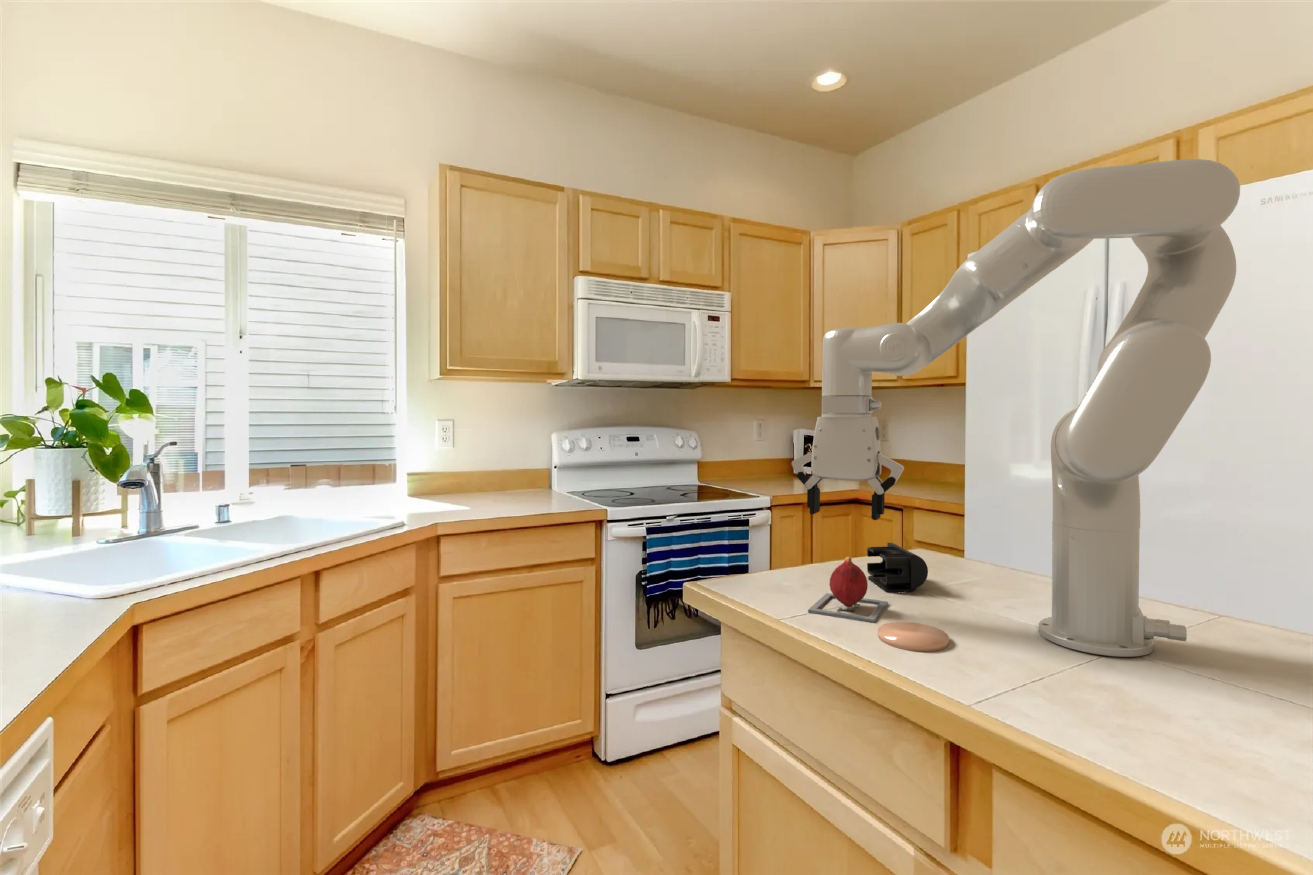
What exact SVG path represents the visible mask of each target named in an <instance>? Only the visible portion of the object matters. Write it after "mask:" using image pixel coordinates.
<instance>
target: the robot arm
mask: <svg viewBox="0 0 1313 875" xmlns="http://www.w3.org/2000/svg"><path fill="white" fill-rule="evenodd" d="M1240 196H1241V185H1240V182H1239V178H1238V176H1237V175H1236V173H1235V172H1234V171H1233V170H1232V169H1231V168H1230V167H1228V166H1226V165H1225V164H1222V163H1220V162H1217V161H1214V160H1211V159H1209V160H1208V159H1201V158H1188V159H1173V160H1165V161H1155V162H1154V161H1153V162H1145V163H1143V162H1142V163H1134V164H1122V165H1111V166H1101V167H1094V168H1093V167H1092V168H1091V167H1090V168H1083V169H1077V170H1074V171H1073V170H1072V171H1069V172H1066V173H1062V174H1061V175H1058V176H1055V177H1054V178H1053V179H1051V180H1049V181H1047V182H1046V183H1045V184H1044V185H1043V186H1042V187H1041V188H1040V189H1039V191H1038V192H1037V194H1036V195H1035V197H1034V199H1033V202H1032V205H1031V208H1030V209H1029V210H1028V211H1026V212H1024V214H1022V215H1021V216H1020V217H1018V218H1017V219H1016V220H1015V221H1013V222H1012V223H1011V224H1010V225H1009V226H1008V227H1006V228H1005V229H1004V230H1002V231H1001V232H1000V233H998V234H997V235H996V236H995V237H994V238H992V239H991V240H990V241H989V242H987V243H986V244H984V245H983V246H982V247H981V248H979V249H978V250H977V251H976V252H975V253H973V254H971V256H970V257H968V258H967V259H966V260H965V261H964V262H962V263H961V265H960V266H959V267H958V268H957V269H956V271H955V272H954V273H953V275H952V277H951V278H950V279H949V281H948V283H947V284H946V286H945V287H944V289H943V290H942V291H941V292H940V293H939V294H938V295H937V296H936V298H935V299H933V300H932V301H931V302H930V303H929V304H928V305H927V306H926V307H925V308H924V309H922V310H921V311H920V312H919V313H917V314H916V315H915V316H913V317H912V318H911V319H910V320H909V321H907V322H906V323H904V322H892V323H886V324H881V325H877V326H871V327H864V328H862V327H861V328H860V327H844V328H843V327H841V328H835V329H830V330H828V331H826V332H825V334H824V335H823V337H822V356H821V357H822V358H821V359H822V360H821V362H822V363H821V364H822V365H821V367H822V368H821V371H822V372H821V416H817V418H816V422H815V428H814V433H813V441H812V447H811V448H812V450H811V451H810V452H808V453H806V454H803V455H802V456H800V457H797V458H796V459H794V460H792V461H791V467H792V469H793V470H794V472H795V474H796V478H797V479H798V480H799V482H800V483H802V485H804V488H805V489H806V493H807V494H806V502H807V503H806V507H807V508H808V509H809V515H816V514H817V513H819V512H820V510H821V489H820V487H819V484H820V483H821V481H822V480H823V479H824V480H825V479H826V480H834V481H835V480H838V481H852V482H853V481H855V482H867V483H868V485H869V486H870V487H871V488H872V490H873V494H871V520H873V521H877V520H879V519H880V518H881V516H882V515H884V513H885V494H886V492H887V491H888V490H890V489H891V488H892V487H893V486H894V485H896V484H897V483H898V480H899V479H900V477H901V475H902V473H903V471H904V470H905V466H904V465H902V464H901V463H898V462H897V461H895V460H893V459H891V458H890V457H888V456H886V455H884V454H883V453H882V448H881V447H882V446H881V434H880V426H879V421H878V418H877V416H872V414H873V412H874V411H876V410H881V409H882V401H881V400H877V399H874V397H873V396H872V391H873V390H872V389H873V386H872V385H873V373H882V374H883V373H884V374H890V375H894V376H898V377H907V376H911V375H914V374H916V373H919V372H920V371H921V370H923V369H924V368H926V367H927V366H928V365H930V364H931V363H933V362H934V361H935V360H938V358H939V357H941V356H942V355H944V354H945V353H946V352H948V351H949V350H950V349H952V348H953V347H955V345H957V344H959V343H960V342H961V341H962V340H963V339H965V338H966V337H967V336H968V335H969V334H971V333H972V332H974V331H975V330H976V329H977V328H979V327H981V326H982V325H983V324H984V323H986V322H987V321H989V320H990V319H992V318H993V317H995V315H997V314H998V313H999V312H1000V311H1001V310H1003V309H1004V308H1006V307H1007V306H1008V305H1010V303H1012V302H1013V301H1015V300H1016V299H1017V298H1018V297H1020V296H1021V295H1022V294H1024V293H1025V292H1026V291H1027V290H1029V289H1030V288H1031V287H1033V286H1034V285H1036V284H1037V283H1039V282H1040V281H1041V280H1042V279H1044V278H1045V277H1047V276H1048V275H1049V274H1050V273H1052V272H1053V271H1055V270H1056V269H1058V268H1059V267H1060V266H1061V265H1063V264H1064V263H1066V262H1067V261H1068V260H1070V259H1071V258H1072V257H1074V256H1075V255H1077V254H1078V253H1079V252H1080V251H1082V250H1083V249H1084V248H1086V247H1087V246H1088V245H1089V244H1091V242H1092V241H1093V240H1094V239H1095V240H1097V239H1125V238H1126V239H1128V238H1130V239H1131V240H1132V242H1133V244H1134V245H1135V246H1136V247H1137V248H1138V249H1139V251H1140V252H1141V253H1142V254H1143V256H1144V258H1145V261H1146V263H1147V275H1146V277H1145V280H1144V283H1143V285H1142V287H1141V288H1140V290H1139V292H1138V294H1137V296H1136V298H1135V300H1134V302H1133V304H1132V305H1131V307H1130V309H1129V310H1128V312H1127V314H1126V316H1125V317H1124V318H1123V320H1122V322H1121V324H1120V325H1119V326H1118V329H1117V331H1116V332H1115V333H1114V335H1113V336H1112V338H1111V339H1110V341H1109V342H1108V343H1107V345H1106V346H1105V347H1104V349H1103V350H1102V352H1101V353H1100V356H1099V359H1098V361H1097V362H1098V363H1097V374H1096V375H1095V377H1094V379H1093V380H1092V382H1091V384H1090V385H1089V388H1088V389H1087V391H1086V393H1085V394H1084V396H1083V397H1082V399H1081V401H1080V403H1079V404H1078V405H1077V407H1076V408H1075V409H1072V410H1070V411H1069V412H1067V413H1066V414H1064V415H1063V416H1062V417H1060V419H1059V420H1058V422H1057V423H1056V425H1055V426H1054V429H1053V431H1052V435H1051V440H1050V441H1051V442H1050V459H1051V460H1050V463H1051V480H1052V481H1051V482H1052V520H1051V521H1052V522H1051V524H1052V526H1051V528H1052V532H1051V533H1052V535H1051V536H1052V537H1051V540H1052V541H1051V548H1052V549H1051V616H1049V617H1046V618H1043V619H1040V620H1039V622H1038V632H1039V634H1040V635H1041V636H1042V637H1043V638H1045V639H1046V640H1048V641H1050V642H1051V643H1052V642H1053V643H1055V644H1056V645H1059V646H1061V647H1064V648H1068V649H1072V650H1073V651H1074V650H1075V651H1078V652H1083V653H1088V654H1092V655H1100V656H1106V657H1107V656H1108V657H1116V658H1117V657H1119V658H1121V657H1122V658H1127V657H1128V658H1133V657H1141V656H1146V655H1150V654H1151V653H1152V652H1153V651H1154V648H1155V647H1154V646H1155V642H1154V638H1155V637H1159V638H1162V639H1163V638H1165V639H1168V640H1172V641H1179V642H1187V638H1188V636H1187V634H1188V633H1187V631H1188V630H1187V627H1186V625H1184V624H1183V625H1181V624H1174V623H1170V620H1167V619H1160V618H1159V619H1158V618H1149V617H1147V615H1144V614H1143V612H1142V610H1141V608H1140V604H1139V602H1140V601H1139V598H1140V591H1139V590H1140V531H1141V494H1140V493H1141V492H1140V491H1141V490H1140V479H1139V478H1140V477H1139V475H1140V474H1141V473H1143V472H1144V471H1146V470H1147V469H1148V468H1149V467H1150V466H1151V465H1152V463H1153V462H1154V461H1155V460H1156V459H1157V457H1158V456H1159V454H1160V453H1161V452H1162V450H1163V448H1164V447H1165V446H1166V444H1167V442H1168V441H1169V439H1170V438H1171V436H1172V435H1173V433H1174V432H1175V430H1176V428H1177V427H1178V425H1179V424H1180V422H1181V421H1182V419H1183V417H1184V416H1185V415H1186V413H1187V411H1188V410H1189V408H1190V407H1191V406H1192V403H1193V402H1194V401H1195V399H1196V397H1197V395H1198V394H1199V392H1200V391H1201V389H1202V387H1203V385H1204V383H1205V381H1206V380H1207V377H1208V374H1209V373H1210V372H1209V371H1210V368H1211V362H1212V354H1211V349H1210V345H1209V343H1208V342H1207V339H1206V337H1207V336H1208V334H1209V332H1210V331H1211V329H1212V327H1213V326H1214V323H1215V322H1216V320H1217V318H1218V317H1219V314H1220V313H1221V311H1222V309H1223V307H1224V306H1225V304H1226V302H1227V300H1228V298H1229V296H1230V294H1231V292H1232V289H1233V287H1234V285H1235V281H1236V275H1237V259H1236V254H1235V250H1234V246H1233V244H1232V241H1231V238H1230V237H1229V235H1228V233H1227V232H1226V230H1225V229H1224V228H1223V227H1222V224H1223V223H1225V222H1226V221H1227V220H1228V219H1229V217H1230V216H1231V215H1232V214H1233V212H1234V211H1235V209H1236V208H1237V205H1238V202H1239V199H1240ZM809 462H811V464H810V466H811V473H812V475H811V476H810V475H809V474H808V473H807V471H805V468H804V465H806V464H807V463H809ZM882 466H883V467H885V468H887V469H889V470H890V474H889V476H888V477H887V478H886V479H885V480H884V481H882V478H880V475H881V474H882Z"/></svg>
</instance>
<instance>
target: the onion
mask: <svg viewBox="0 0 1313 875" xmlns="http://www.w3.org/2000/svg"><path fill="white" fill-rule="evenodd" d="M852 560H853V558H851V557H850V556H846V557H845V558H844V561H843V563H842V564H839V565H838V566H837V567H835V569H834V570H833V572H832V573H831V575H830V577H829V583H828V585H829V590H830V591H831V594H833V595H834V597H835V598H834V599H836V600H837V601H838V602H839V603H841V604H842V605H843V606H844V607H846V608H852V607H853V606H855V605H854V604H858V603H860V602H859V601H860V600H861V599H862V598H864V597H865V596H866V594H867V591H868V587H869V586H868V578H867V577H866V574H865V573H864V570H862V569H861V567H859V566H858V565H857V564H855V563H854V562H853V561H852Z"/></svg>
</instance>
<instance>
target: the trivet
mask: <svg viewBox="0 0 1313 875" xmlns="http://www.w3.org/2000/svg"><path fill="white" fill-rule="evenodd" d="M877 637H878V638H879V640H880V641H881V642H882V643H884V644H887V645H889V646H892V647H895V648H898V649H901V650H905V651H906V650H907V651H911V652H912V651H914V652H935V651H936V652H937V651H941V650H943V649H946V648H947V647H948V646H949V645H950V638H949V637H950V636H949V634H948V633H947V632H946V631H945V630H942V629H941V628H938V627H935V626H933V625H929V624H927V623H926V624H925V623H921V622H913V621H892V622H886V623H883V624H881V625H879V626H878V628H877Z"/></svg>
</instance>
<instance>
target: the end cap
mask: <svg viewBox="0 0 1313 875" xmlns="http://www.w3.org/2000/svg"><path fill="white" fill-rule="evenodd" d="M886 544H887V545H886V546H870V547H867V549H866V557H868V558H871V557H880V558H881V559H882V561H880V562H867V563H866V566H867V567H866V569H867V573H868V574H869V575H868V576H867V577H868V578H867V581H870V582H871V583H872V582H873V585H877V588H880V589H881V590H882V591H883V592H885V593H887V594H896V592H897V594H901V592H906V593H912V592H914V591H916V590H917V589H918V588H920V587H921V586H923V585H924V584H925V582H926V581H927V578H928V574H929V568H928V565H927V563H926V561H925V560H924V559H923V558H922V557H921V556H920V555H918V554H916V553H913V552H911V551H909V550H908V549H905V548H904V547H901V546H899V545H898V544H895V543H894V542H887V543H886ZM898 592H900V593H898Z"/></svg>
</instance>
